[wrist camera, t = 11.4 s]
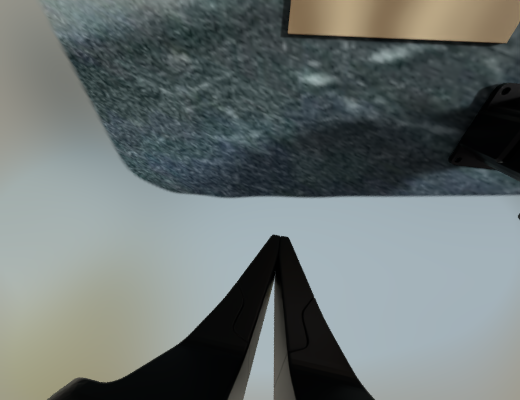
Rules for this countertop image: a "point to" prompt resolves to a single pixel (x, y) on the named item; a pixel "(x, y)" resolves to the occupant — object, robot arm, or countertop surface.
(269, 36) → the countertop surface
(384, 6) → the cork mat
